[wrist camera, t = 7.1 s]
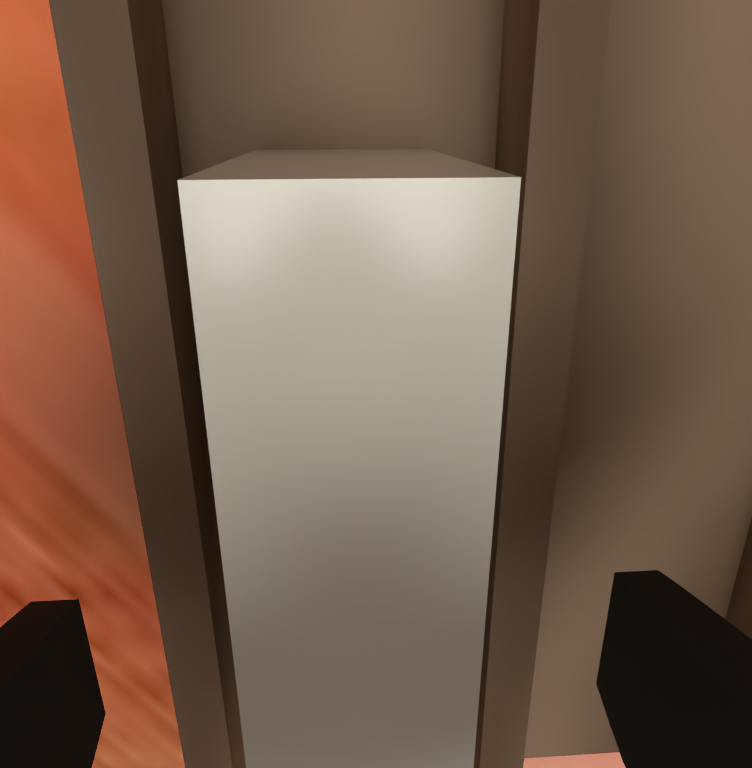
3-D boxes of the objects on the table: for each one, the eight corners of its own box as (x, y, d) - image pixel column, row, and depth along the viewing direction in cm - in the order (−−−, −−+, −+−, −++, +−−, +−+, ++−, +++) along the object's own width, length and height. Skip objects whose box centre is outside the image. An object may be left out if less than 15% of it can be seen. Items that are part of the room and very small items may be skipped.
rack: (204, 744, 18) (179, 860, 15) (74, -70, 10) (-19, -139, 8) (723, 712, 19) (792, 816, 16) (939, -64, 11) (1137, -123, 9)
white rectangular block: (292, 671, 16) (270, 973, 10) (255, 150, 11) (178, 179, 5) (413, 664, 16) (458, 959, 10) (427, 148, 11) (520, 177, 6)
